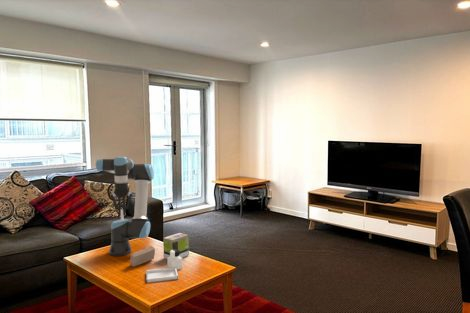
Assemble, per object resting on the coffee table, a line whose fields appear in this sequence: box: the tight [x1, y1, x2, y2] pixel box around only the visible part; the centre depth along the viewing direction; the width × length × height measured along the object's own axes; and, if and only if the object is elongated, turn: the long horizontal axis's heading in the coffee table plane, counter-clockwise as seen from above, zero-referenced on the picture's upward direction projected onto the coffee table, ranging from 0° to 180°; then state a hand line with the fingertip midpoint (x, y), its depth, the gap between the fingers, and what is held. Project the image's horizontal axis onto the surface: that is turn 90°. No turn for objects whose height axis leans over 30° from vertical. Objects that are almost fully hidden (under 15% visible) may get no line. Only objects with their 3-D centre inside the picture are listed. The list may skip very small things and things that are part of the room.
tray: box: [145, 267, 179, 284], centre depth 206 cm, size 14×18×2 cm
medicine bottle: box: [166, 249, 184, 271], centre depth 218 cm, size 7×7×12 cm
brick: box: [129, 245, 156, 268], centre depth 226 cm, size 16×8×5 cm
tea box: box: [162, 232, 190, 260], centre depth 237 cm, size 15×10×15 cm, turn 141°
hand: (122, 220), depth 209 cm, fingers closed
